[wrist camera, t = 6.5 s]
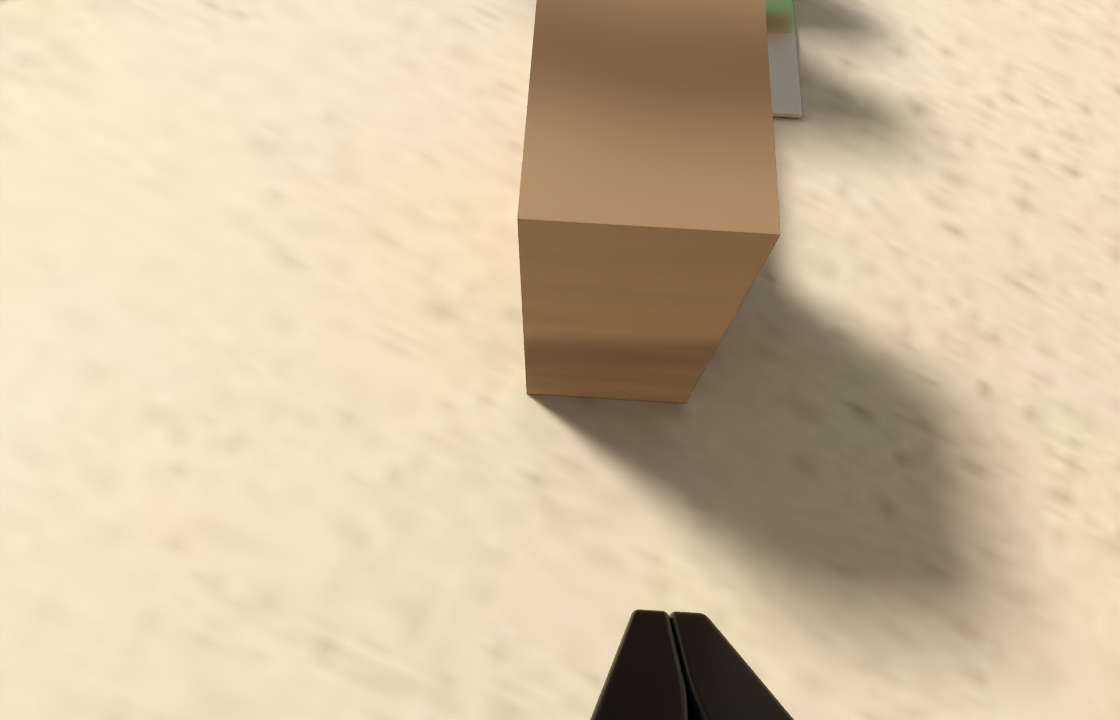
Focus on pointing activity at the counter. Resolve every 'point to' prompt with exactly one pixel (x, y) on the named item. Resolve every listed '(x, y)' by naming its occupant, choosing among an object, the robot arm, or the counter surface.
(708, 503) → the counter surface
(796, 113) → the gauge housing
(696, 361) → the walnut block
